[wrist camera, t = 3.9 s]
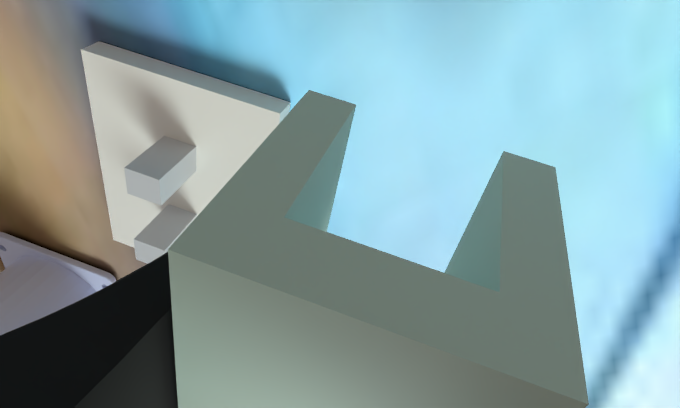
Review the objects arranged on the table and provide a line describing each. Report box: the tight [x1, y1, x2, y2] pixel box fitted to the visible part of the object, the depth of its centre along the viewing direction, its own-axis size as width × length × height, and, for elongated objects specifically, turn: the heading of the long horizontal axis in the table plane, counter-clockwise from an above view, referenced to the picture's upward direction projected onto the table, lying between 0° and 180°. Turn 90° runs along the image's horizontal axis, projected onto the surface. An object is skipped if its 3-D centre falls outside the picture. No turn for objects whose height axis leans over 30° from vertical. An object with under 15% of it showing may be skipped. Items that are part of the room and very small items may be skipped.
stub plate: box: [81, 41, 291, 263], centre depth 19 cm, size 10×8×4 cm
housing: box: [168, 90, 589, 408], centre depth 9 cm, size 6×5×5 cm
